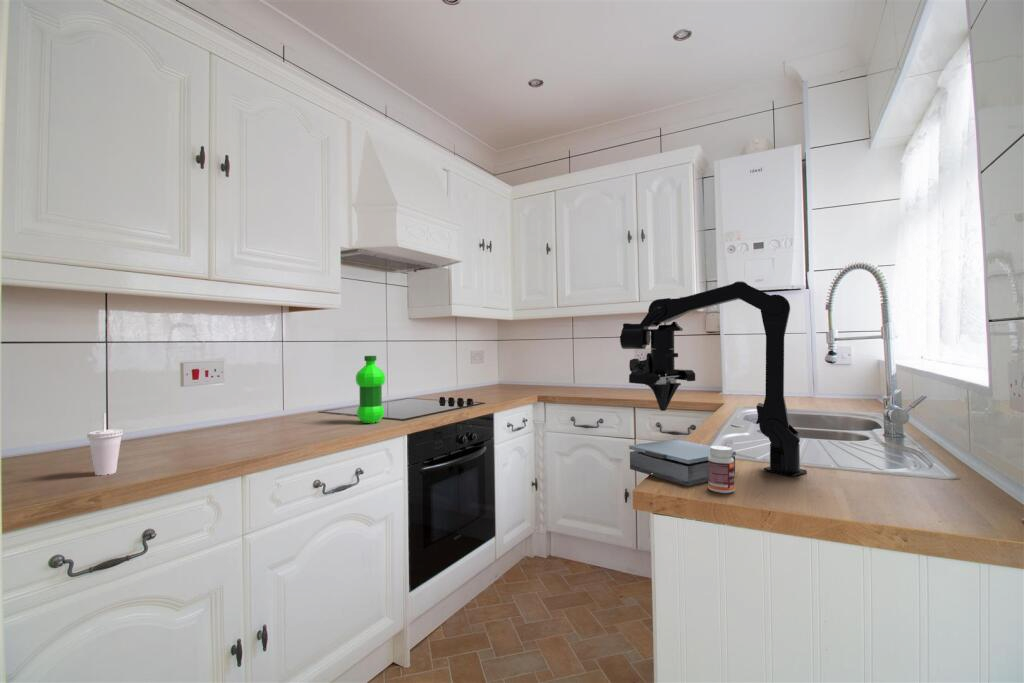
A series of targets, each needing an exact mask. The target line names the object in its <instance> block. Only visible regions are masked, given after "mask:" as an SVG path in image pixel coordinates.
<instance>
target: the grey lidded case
mask: <svg viewBox="0 0 1024 683" xmlns="http://www.w3.org/2000/svg"><path fill="white" fill-rule="evenodd" d="M731 457H732V458H733V459H734V476H735V475H736V455H734V456H731ZM629 469H630V470H632V471H636V472H639V473H642V474H645V475H649V476H652V477H655V478H659V479H662V480H666V481H669V482H672V483H676V484H679V485H683V486H686V487H691V486H695V485H698V484H703V483H706V482H707V483H708V460H707V461H702V462H697V463H692V464H687V463H683V462H679V461H675V460H671V459H667V458H665V459H662V458H658V457H654V456H650V455H646V454H645V453H643V452H639V451H635V450H631V451H629ZM651 473H653V474H652V475H651Z"/></svg>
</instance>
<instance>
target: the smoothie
mask: <svg viewBox="0 0 1024 683" xmlns="http://www.w3.org/2000/svg"><path fill="white" fill-rule="evenodd" d="M106 414H107V412H103V413H102V429H101V430H94V431H91V432H87V436H86V438H87V439H89V440H88V441H89V447H90V454H91V458H92V463H93V471H94V475H95V476H96V475H97V477H99V475H102V476H108V475H107V474H109V475H112V474H115V473H116V472H117V470H118V469H117V468H118V461H119V455H120V447H121V441H122V435H124V430H123V429H122V428H120V429H119V428H113V429H112V428H110V429H106V428H107V426H106V425H107V423H106V422H107V421H106V420H107V417H106V416H107V415H106Z"/></svg>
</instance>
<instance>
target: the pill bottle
mask: <svg viewBox="0 0 1024 683" xmlns="http://www.w3.org/2000/svg"><path fill="white" fill-rule="evenodd" d="M710 446H711V447H710V454H711V456H709V457H708V481H707V484H708V486H707V487H708V489H709V490H710V491H712V492H715V493H721V494H731V493H733V492H735V475H734V459H733V458H732V457H731V456H732V451H733V448H732V447H730V446H726V445H725V446H724V445H710Z"/></svg>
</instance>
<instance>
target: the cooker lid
mask: <svg viewBox="0 0 1024 683" xmlns="http://www.w3.org/2000/svg"><path fill="white" fill-rule="evenodd" d="M711 446H712V445H707V444H706V445H705V444H700V443H696V442H691V441H685V440H682V439H676V438H674V439H667V440H659V441H658V440H657V441H652V442H646V443H639V444H630V445H628V448H629V450H631V451H639V452H643V453H645V454H646V455H650V456H654V457H658V458H662V459H665V458H667V459H671V460H675V461H679V462H683V463H687V464H692V463H697V462H702V461H707V460H708V457H709V456H711V454H710V447H711ZM736 455H737V451H735V450H732V456H736Z"/></svg>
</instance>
